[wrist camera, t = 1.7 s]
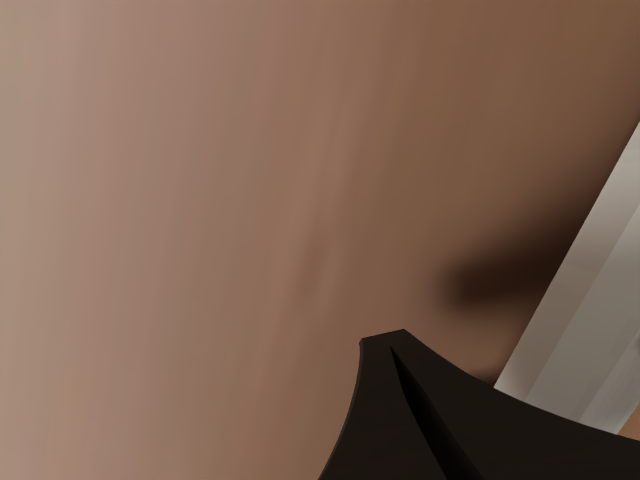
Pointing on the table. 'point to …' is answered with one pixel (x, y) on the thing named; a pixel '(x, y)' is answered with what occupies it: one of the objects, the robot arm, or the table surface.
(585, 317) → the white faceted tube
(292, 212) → the table surface
